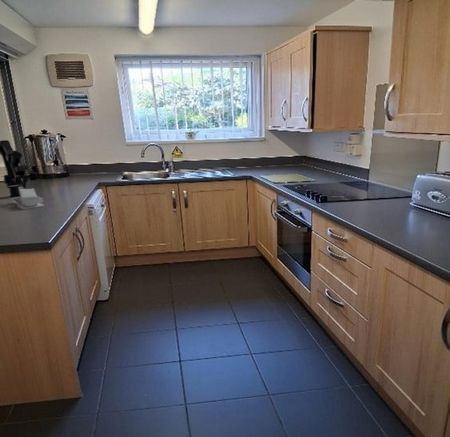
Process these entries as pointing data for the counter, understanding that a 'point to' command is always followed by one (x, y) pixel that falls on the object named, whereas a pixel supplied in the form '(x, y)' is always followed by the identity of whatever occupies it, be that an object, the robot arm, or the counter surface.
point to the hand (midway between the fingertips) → (24, 187)
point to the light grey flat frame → (18, 202)
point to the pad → (30, 206)
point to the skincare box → (28, 197)
